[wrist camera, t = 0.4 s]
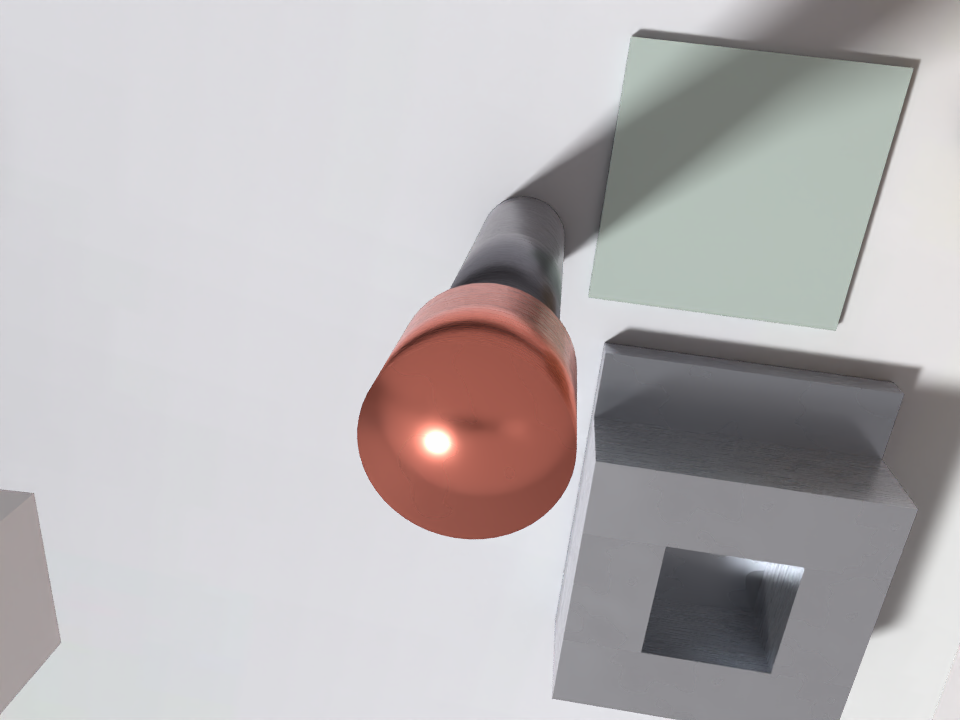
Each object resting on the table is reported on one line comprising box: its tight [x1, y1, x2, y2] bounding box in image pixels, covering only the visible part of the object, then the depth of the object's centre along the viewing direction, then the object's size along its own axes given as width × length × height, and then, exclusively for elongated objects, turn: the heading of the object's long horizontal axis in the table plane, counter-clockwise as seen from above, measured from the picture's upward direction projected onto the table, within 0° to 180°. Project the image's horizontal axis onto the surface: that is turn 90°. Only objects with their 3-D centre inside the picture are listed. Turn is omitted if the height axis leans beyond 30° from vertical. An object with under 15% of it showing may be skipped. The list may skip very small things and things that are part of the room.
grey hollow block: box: [552, 343, 918, 720], centre depth 34 cm, size 12×15×5 cm
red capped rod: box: [357, 197, 577, 539], centre depth 24 cm, size 4×4×18 cm
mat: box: [589, 37, 914, 331], centre depth 30 cm, size 10×10×1 cm
